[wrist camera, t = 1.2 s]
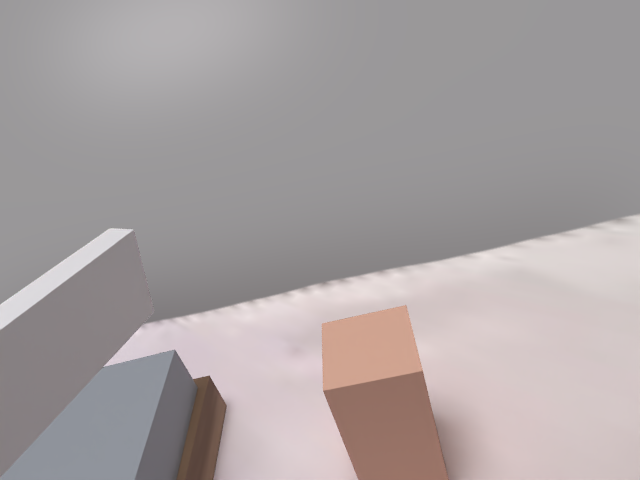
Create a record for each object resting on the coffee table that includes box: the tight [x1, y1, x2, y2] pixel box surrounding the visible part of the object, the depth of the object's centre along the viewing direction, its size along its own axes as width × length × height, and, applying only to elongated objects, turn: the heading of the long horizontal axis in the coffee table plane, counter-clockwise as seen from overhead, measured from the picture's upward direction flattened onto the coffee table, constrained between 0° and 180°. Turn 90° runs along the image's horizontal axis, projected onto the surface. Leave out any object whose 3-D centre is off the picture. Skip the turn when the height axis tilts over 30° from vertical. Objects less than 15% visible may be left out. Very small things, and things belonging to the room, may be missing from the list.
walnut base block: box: [176, 376, 227, 480], centre depth 34 cm, size 12×12×4 cm
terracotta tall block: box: [322, 305, 448, 480], centre depth 29 cm, size 5×5×10 cm
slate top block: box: [0, 350, 198, 480], centre depth 32 cm, size 10×10×4 cm
